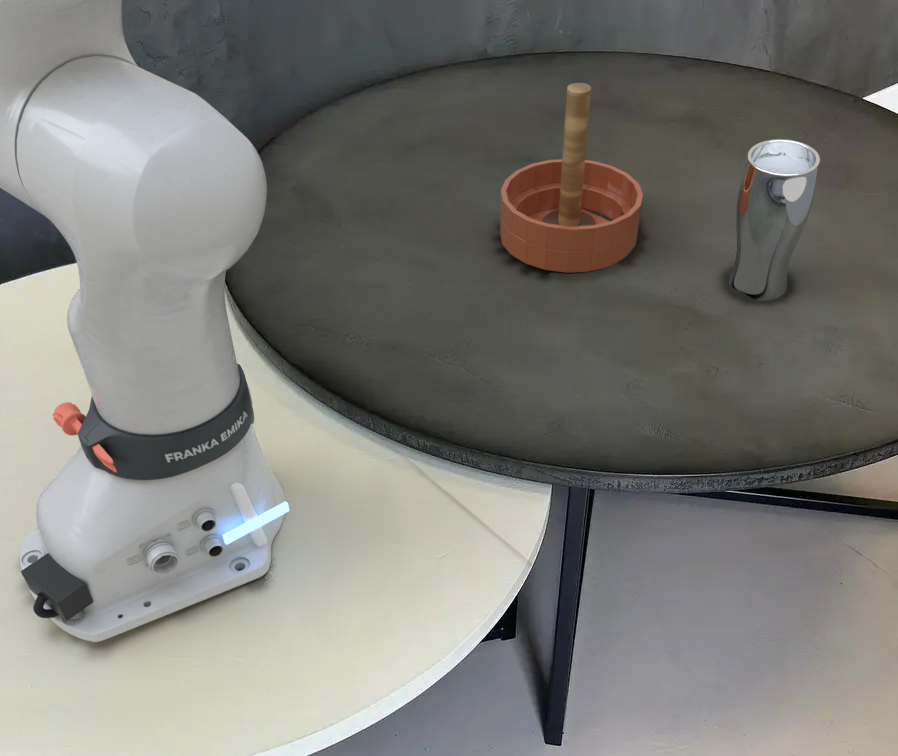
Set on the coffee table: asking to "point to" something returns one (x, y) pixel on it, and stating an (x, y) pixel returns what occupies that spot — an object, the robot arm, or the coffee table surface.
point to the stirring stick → (573, 159)
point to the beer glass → (772, 215)
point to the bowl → (569, 246)
